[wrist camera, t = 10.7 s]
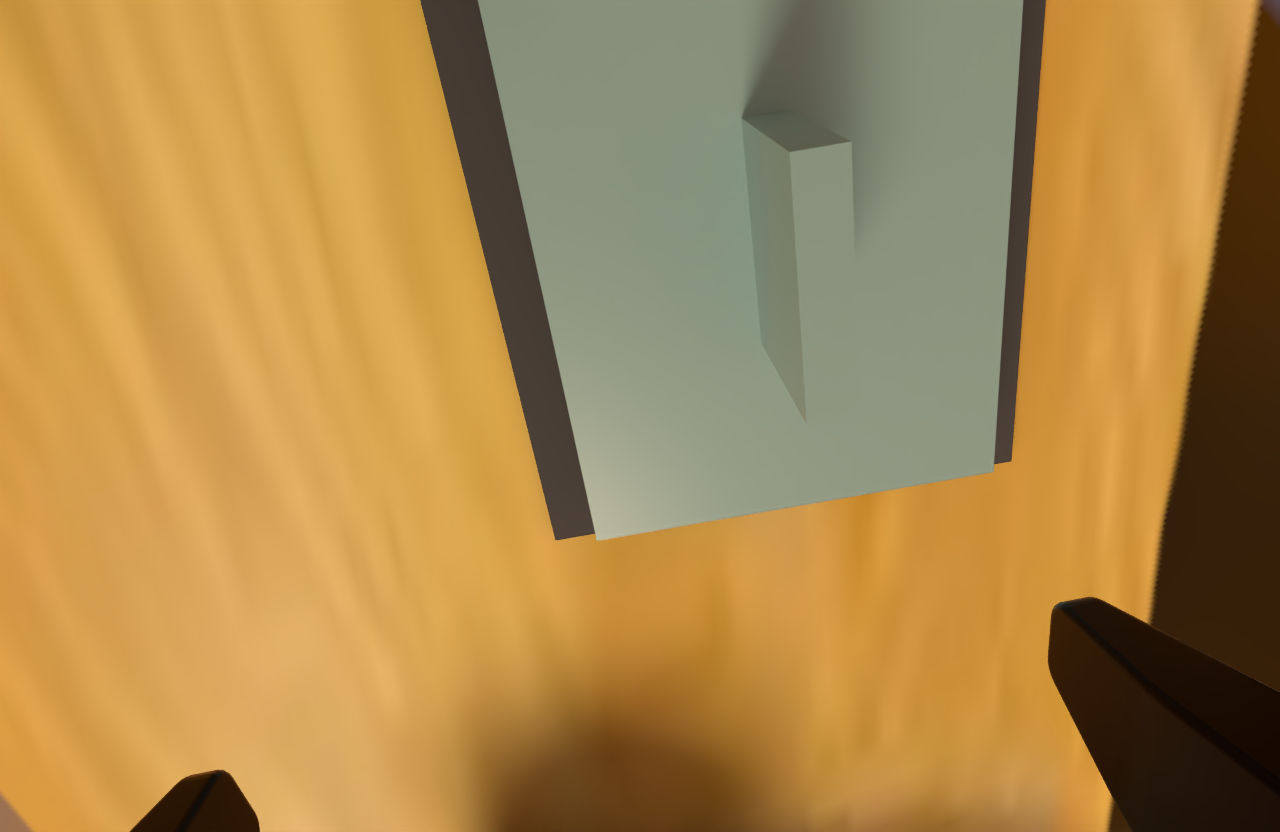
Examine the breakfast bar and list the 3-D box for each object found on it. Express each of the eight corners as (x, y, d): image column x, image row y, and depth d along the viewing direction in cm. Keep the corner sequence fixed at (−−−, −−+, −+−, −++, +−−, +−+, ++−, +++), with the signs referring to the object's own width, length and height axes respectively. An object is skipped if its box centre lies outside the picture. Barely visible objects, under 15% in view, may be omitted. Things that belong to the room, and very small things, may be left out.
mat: (1004, 454, 23) (1011, 461, 23) (555, 531, 23) (555, 540, 23) (1053, -250, 16) (1064, -255, 15) (389, -134, 16) (385, -137, 15)
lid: (966, 441, 22) (1080, 569, 17) (595, 506, 22) (603, 651, 17) (994, -199, 16) (1193, -288, 11) (462, -106, 16) (413, -154, 11)
